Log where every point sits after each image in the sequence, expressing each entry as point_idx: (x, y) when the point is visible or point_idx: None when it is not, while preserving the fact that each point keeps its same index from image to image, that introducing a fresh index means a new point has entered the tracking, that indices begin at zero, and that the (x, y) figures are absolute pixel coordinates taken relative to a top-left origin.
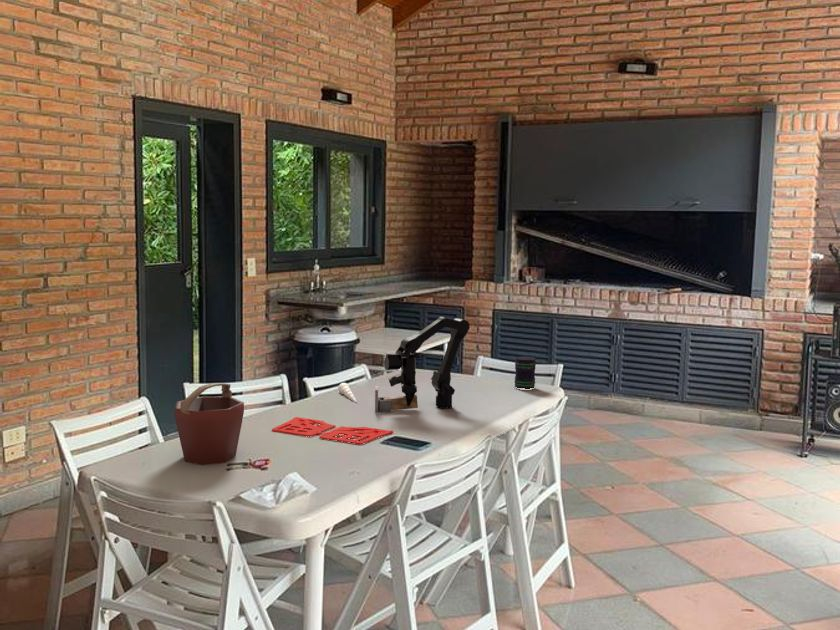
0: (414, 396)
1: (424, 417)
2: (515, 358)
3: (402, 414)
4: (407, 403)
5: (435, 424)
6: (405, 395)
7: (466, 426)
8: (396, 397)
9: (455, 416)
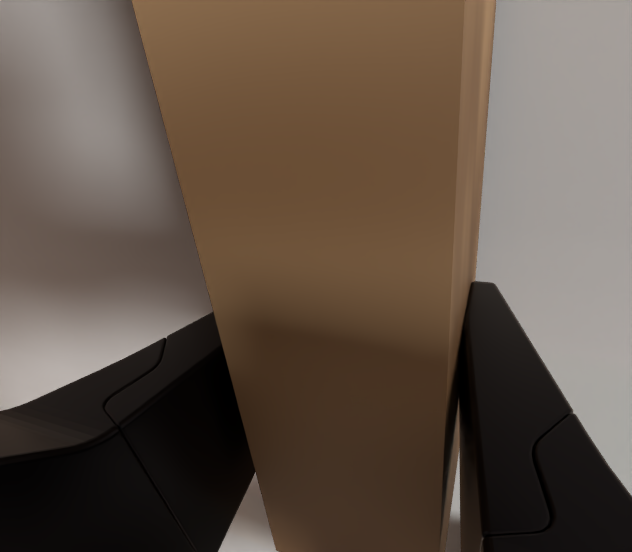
0: (278, 521)
1: (134, 343)
2: None
3: (153, 129)
4: None
5: (9, 362)
6: (52, 391)
7: None
8: (295, 26)
9: (240, 512)
